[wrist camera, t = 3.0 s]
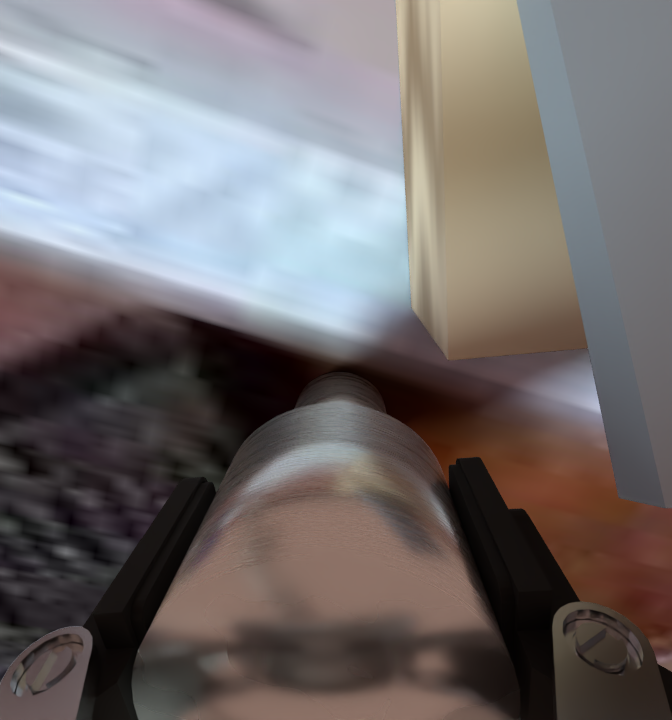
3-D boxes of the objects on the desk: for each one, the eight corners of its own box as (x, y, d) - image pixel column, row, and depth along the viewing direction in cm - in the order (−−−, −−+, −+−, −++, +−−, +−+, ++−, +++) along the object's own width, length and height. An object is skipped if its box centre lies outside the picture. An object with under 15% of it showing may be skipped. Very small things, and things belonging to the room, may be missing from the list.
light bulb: (253, 349, 16) (82, 572, 6) (412, 334, 15) (528, 546, 5) (277, 483, 17) (179, 828, 8) (419, 473, 17) (514, 824, 7)
